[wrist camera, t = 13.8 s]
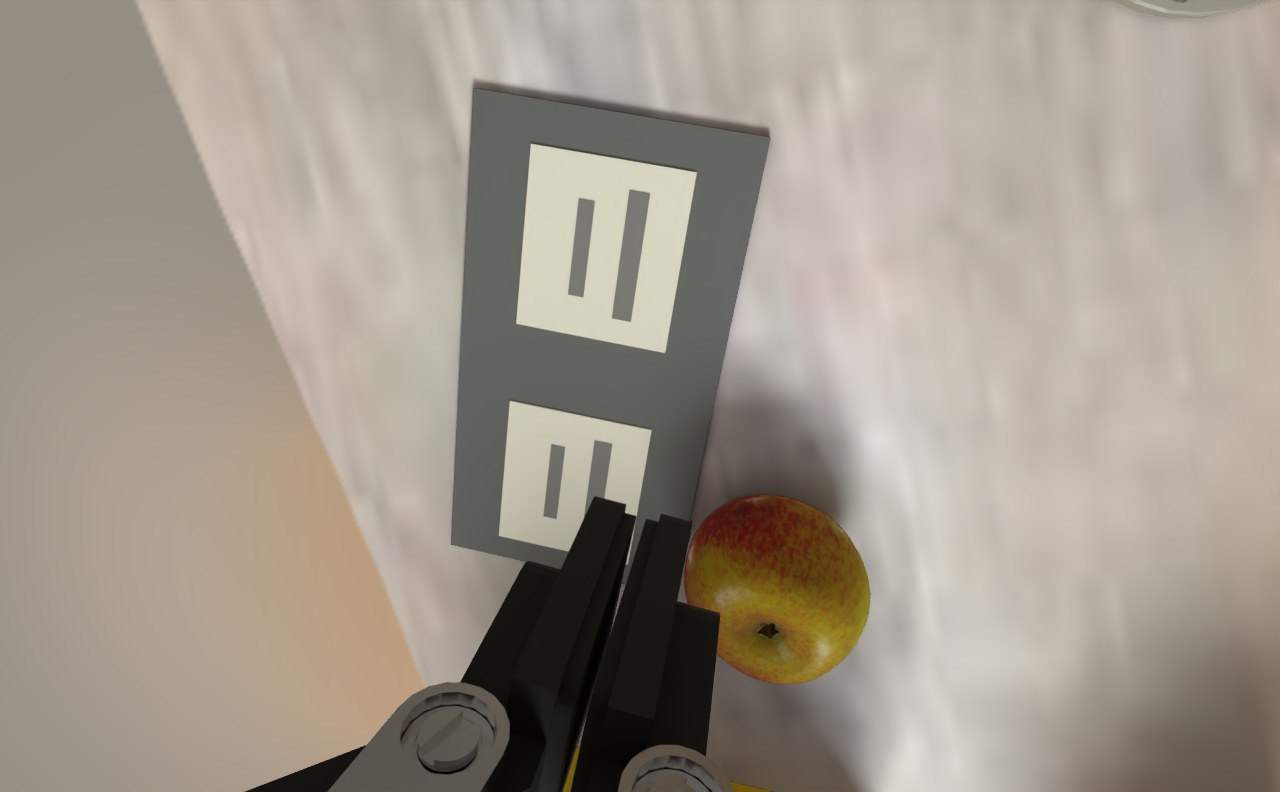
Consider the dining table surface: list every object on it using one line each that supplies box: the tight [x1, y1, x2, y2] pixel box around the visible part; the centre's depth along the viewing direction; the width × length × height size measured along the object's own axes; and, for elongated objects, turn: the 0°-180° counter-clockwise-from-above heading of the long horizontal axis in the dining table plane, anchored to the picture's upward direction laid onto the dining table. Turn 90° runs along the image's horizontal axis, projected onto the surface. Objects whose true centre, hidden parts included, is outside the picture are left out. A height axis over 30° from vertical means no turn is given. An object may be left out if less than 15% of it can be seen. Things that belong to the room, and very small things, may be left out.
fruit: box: [684, 495, 871, 684], centre depth 35 cm, size 10×9×8 cm
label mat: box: [451, 88, 770, 584], centre depth 37 cm, size 26×14×1 cm, turn 171°
